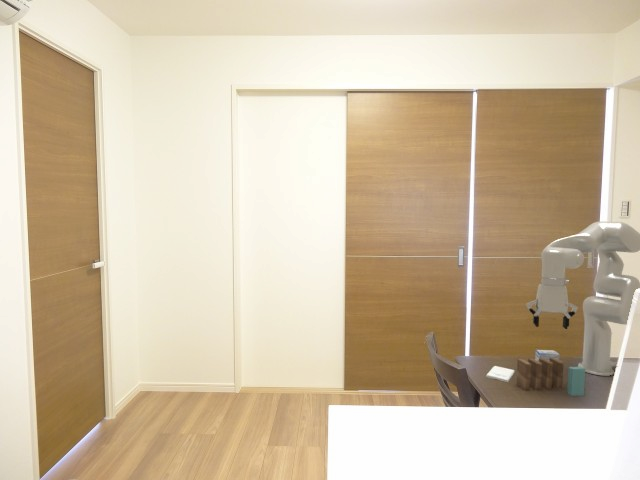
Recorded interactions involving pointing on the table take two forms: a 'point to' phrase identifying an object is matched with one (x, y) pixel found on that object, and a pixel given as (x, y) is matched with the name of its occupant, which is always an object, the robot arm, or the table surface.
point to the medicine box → (546, 354)
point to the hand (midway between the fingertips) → (550, 327)
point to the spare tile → (576, 381)
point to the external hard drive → (500, 373)
